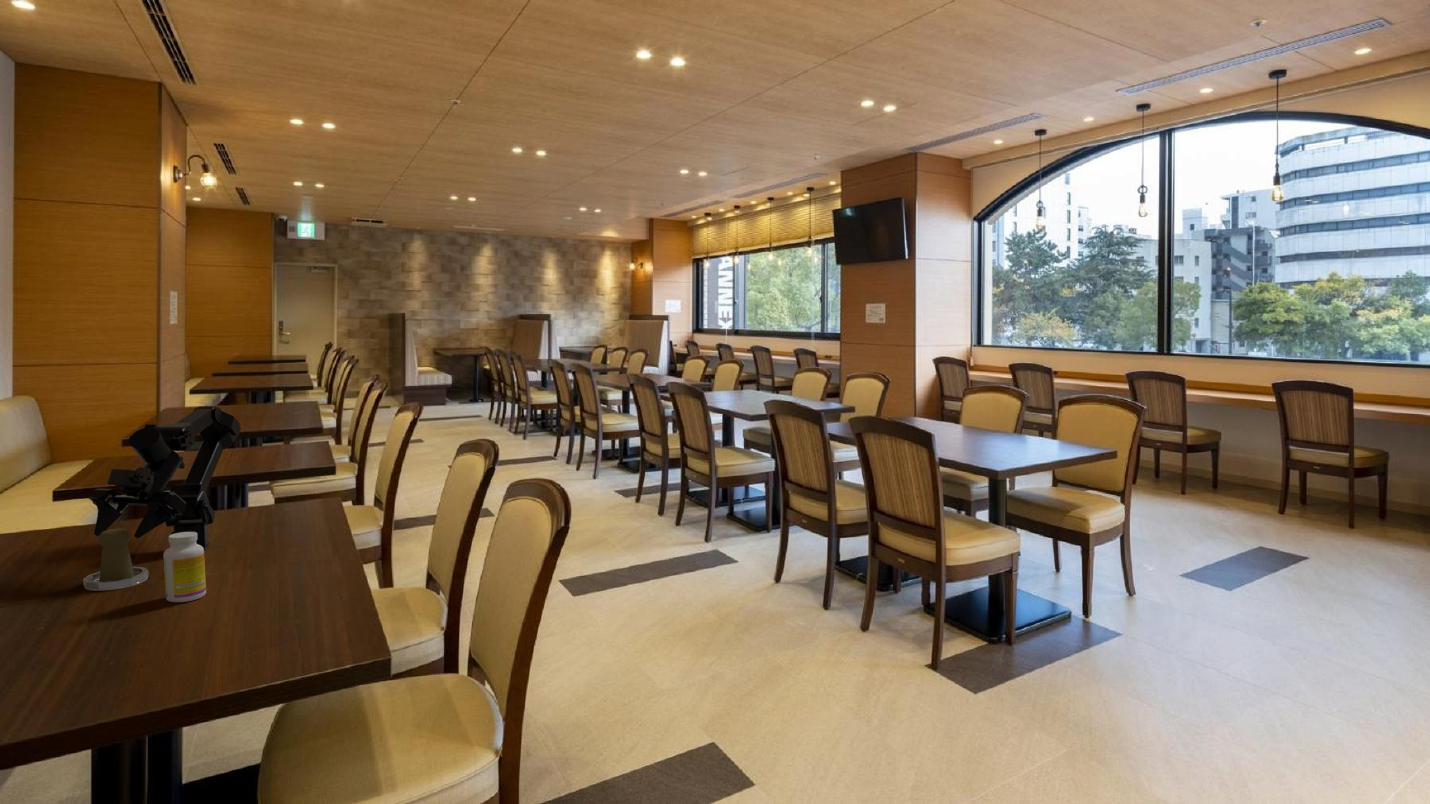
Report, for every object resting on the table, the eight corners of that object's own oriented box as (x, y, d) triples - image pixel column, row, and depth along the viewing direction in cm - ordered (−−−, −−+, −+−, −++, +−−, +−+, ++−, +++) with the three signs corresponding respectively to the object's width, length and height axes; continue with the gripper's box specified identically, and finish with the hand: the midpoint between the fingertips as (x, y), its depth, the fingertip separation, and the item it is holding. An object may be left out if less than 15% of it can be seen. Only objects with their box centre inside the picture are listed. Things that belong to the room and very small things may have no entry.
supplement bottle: (214, 594, 154) (211, 532, 153) (182, 605, 148) (178, 540, 147) (190, 590, 156) (187, 528, 155) (157, 600, 150) (154, 537, 149)
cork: (115, 586, 157) (112, 534, 156) (91, 584, 158) (87, 532, 157) (142, 577, 163) (139, 526, 162) (118, 575, 164) (115, 525, 163)
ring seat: (154, 572, 167) (154, 564, 167) (138, 587, 157) (137, 579, 157) (96, 577, 163) (95, 569, 163) (75, 593, 154) (75, 585, 153)
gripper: (93, 451, 164) (47, 514, 155) (172, 454, 162) (131, 518, 153) (127, 480, 173) (86, 541, 163) (203, 483, 171) (165, 545, 161)
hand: (116, 536), depth 160 cm, fingers open, 9 cm apart
